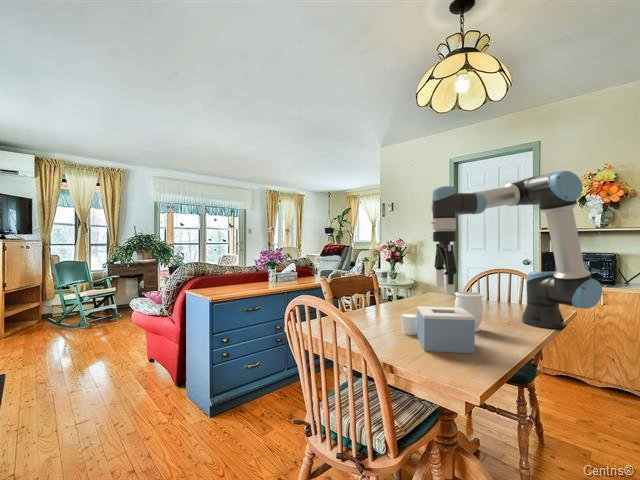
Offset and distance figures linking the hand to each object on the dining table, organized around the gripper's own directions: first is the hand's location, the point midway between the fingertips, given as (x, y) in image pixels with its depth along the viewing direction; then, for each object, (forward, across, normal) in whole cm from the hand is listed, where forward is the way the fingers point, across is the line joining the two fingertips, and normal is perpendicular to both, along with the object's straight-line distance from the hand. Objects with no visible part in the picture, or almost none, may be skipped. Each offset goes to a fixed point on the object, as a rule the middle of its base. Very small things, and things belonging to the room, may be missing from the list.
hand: (444, 290), depth 110 cm
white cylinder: (+19, -13, -11) cm, 26 cm away
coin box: (+19, 0, -1) cm, 19 cm away
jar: (+20, -21, +14) cm, 32 cm away
